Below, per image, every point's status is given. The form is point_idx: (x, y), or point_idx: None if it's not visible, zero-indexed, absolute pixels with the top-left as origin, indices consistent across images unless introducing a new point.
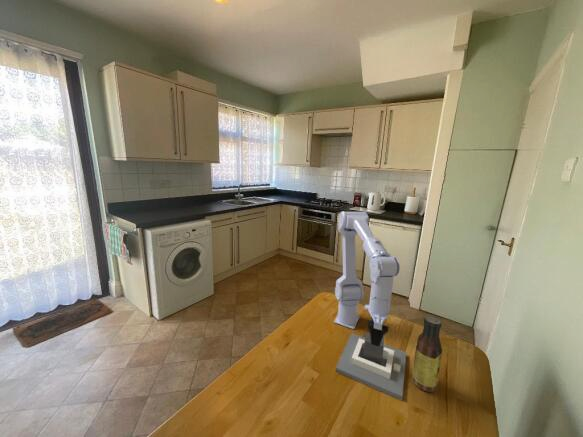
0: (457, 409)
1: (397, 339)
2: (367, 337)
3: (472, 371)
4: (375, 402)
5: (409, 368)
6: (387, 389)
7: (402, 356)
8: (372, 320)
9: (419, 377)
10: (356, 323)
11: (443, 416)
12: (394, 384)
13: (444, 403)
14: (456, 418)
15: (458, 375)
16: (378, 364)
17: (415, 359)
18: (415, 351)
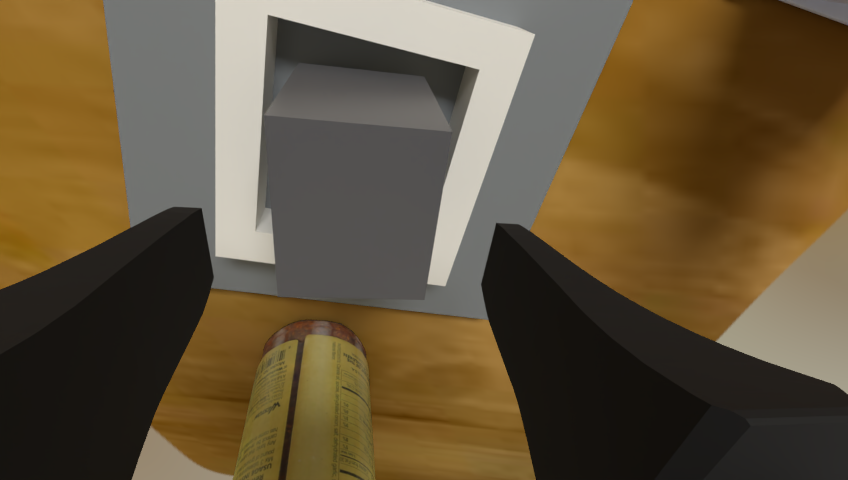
0: (240, 422)
1: (611, 280)
2: (355, 149)
3: (454, 474)
4: (22, 132)
5: (393, 311)
6: (134, 213)
7: (449, 302)
8: (542, 280)
9: (258, 380)
10: (804, 8)
11: (173, 386)
12: None
13: (244, 396)
14: (193, 415)
15: (418, 444)
16: (256, 187)
17: (291, 429)
18: (298, 475)
